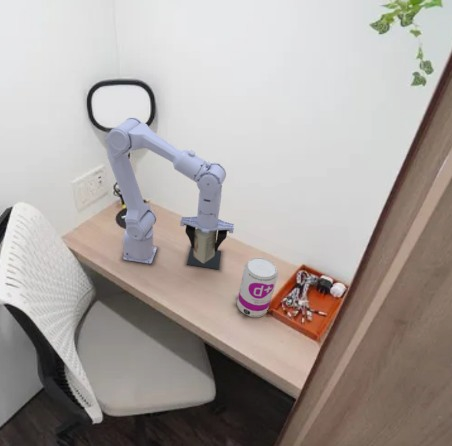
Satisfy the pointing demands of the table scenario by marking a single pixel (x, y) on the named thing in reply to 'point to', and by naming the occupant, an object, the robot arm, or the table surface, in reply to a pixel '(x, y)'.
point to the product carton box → (204, 245)
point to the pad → (211, 263)
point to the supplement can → (257, 287)
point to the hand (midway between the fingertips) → (204, 247)
